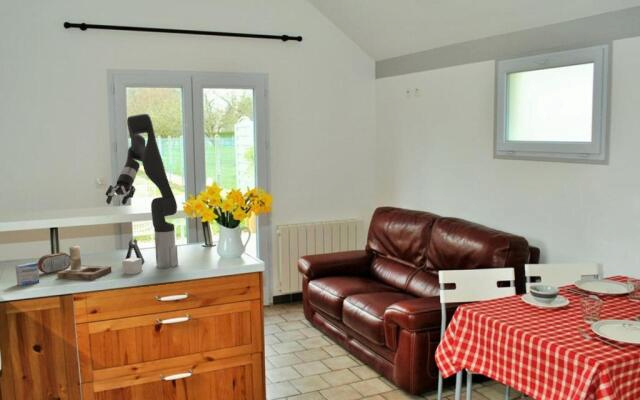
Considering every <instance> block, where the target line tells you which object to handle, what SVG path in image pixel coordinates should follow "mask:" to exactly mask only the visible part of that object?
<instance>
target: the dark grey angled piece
mask: <svg viewBox="0 0 640 400" xmlns="http://www.w3.org/2000/svg"><path fill="white" fill-rule="evenodd" d="M140 250H141V249H140V248H139V245H138V240H137V239H136V238H134V239H133V238H131V239H130V241H129V242H128V250H127V253H126V255H125V256H126V257H125V259H124V260H126V259H129V258H132V256H131V255H132V251H134V253H135V256H136V257H135V258H141V259H142V266H143V265H144V263H145V258H144V256H143V254H142V252H141V251H140Z"/></svg>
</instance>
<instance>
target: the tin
mask: <svg viewBox="0 0 640 400" xmlns="http://www.w3.org/2000/svg"><path fill="white" fill-rule="evenodd" d="M37 263H38V270H39V271H40V272H42V273H45V274H53V273H56V272H57V273H58V272H60V271H63V270H65V269H68V268H70V267H71V263H70V254H68V253H65V252H56V253H51V254H45V255H43V256H41V257H40V259H39V260H38V262H37Z"/></svg>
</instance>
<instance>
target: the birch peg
mask: <svg viewBox="0 0 640 400" xmlns="http://www.w3.org/2000/svg"><path fill="white" fill-rule="evenodd" d="M69 256H70V263H71V264H70V268H71V269H72V270H77V269H81V265H82V261H81V247H80V246H79V245H73V246H69Z"/></svg>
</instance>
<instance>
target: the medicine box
mask: <svg viewBox="0 0 640 400" xmlns="http://www.w3.org/2000/svg"><path fill="white" fill-rule="evenodd" d="M39 271H40V270H39V269H38V262H35V261H33V262H27V263H23V264H18V265H15V275H16V284H17V285H18V286H20V287H25V286H28V285H33V284H36V283H40V273H39ZM24 285H25V286H24Z"/></svg>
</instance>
